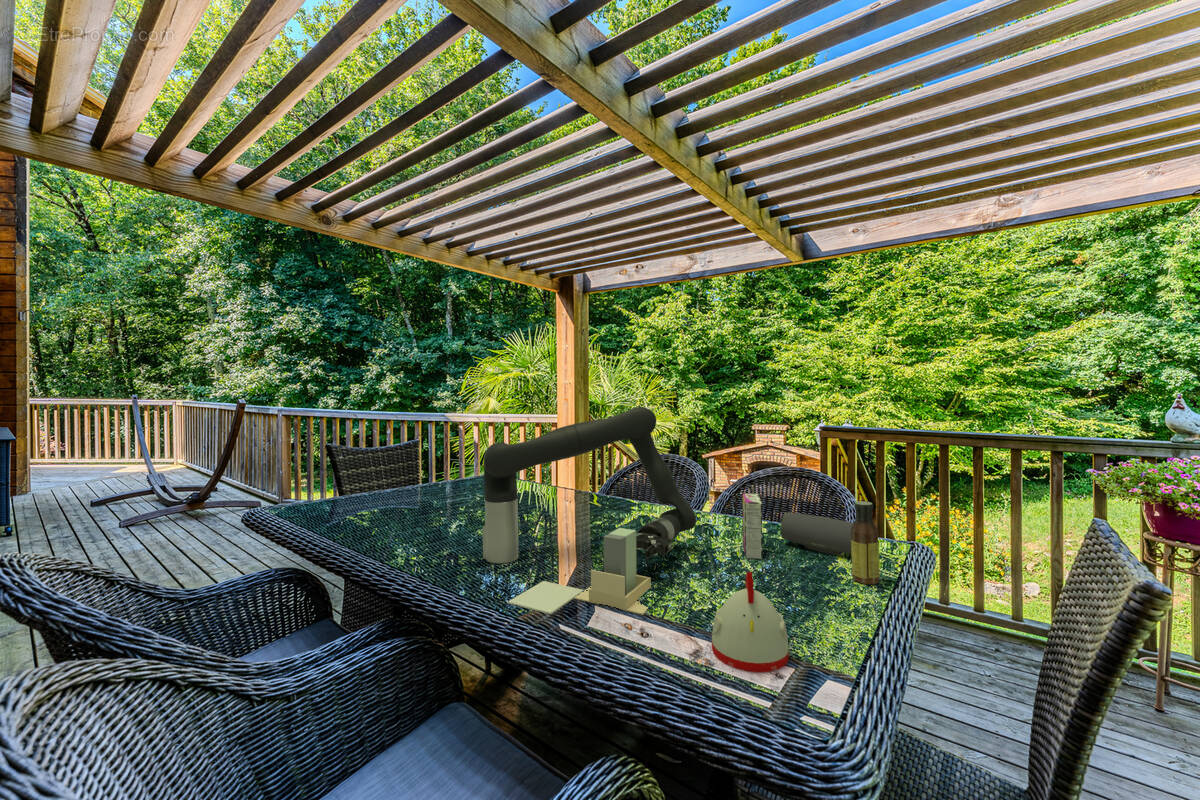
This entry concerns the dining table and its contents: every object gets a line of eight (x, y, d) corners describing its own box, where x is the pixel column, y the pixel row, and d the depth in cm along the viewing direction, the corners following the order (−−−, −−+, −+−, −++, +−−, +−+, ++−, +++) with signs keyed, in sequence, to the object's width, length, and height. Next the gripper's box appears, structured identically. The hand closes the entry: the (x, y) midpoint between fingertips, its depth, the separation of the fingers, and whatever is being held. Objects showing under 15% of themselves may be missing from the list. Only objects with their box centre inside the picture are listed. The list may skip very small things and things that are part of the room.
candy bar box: (741, 546, 160) (741, 493, 160) (759, 547, 159) (759, 493, 159) (744, 559, 149) (744, 501, 149) (762, 560, 148) (763, 502, 148)
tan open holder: (574, 598, 124) (573, 567, 123) (608, 574, 138) (608, 546, 138) (642, 614, 115) (642, 580, 115) (671, 587, 130) (671, 557, 129)
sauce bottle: (877, 577, 134) (878, 500, 134) (881, 587, 129) (882, 506, 128) (849, 574, 137) (849, 499, 136) (852, 583, 131) (852, 504, 130)
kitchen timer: (711, 668, 94) (711, 585, 93) (711, 631, 107) (711, 558, 107) (794, 676, 91) (794, 590, 90) (783, 637, 105) (783, 563, 104)
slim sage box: (604, 600, 123) (603, 536, 122) (620, 588, 130) (619, 527, 129) (621, 604, 121) (620, 539, 120) (636, 591, 127) (636, 530, 127)
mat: (507, 603, 122) (507, 601, 122) (543, 582, 134) (543, 580, 134) (550, 614, 116) (550, 612, 116) (583, 591, 128) (583, 589, 128)
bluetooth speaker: (869, 555, 152) (870, 520, 151) (859, 563, 145) (859, 527, 144) (792, 539, 167) (792, 508, 167) (779, 546, 160) (779, 513, 160)
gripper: (632, 517, 147) (604, 532, 133) (681, 524, 140) (656, 540, 126) (632, 544, 147) (604, 562, 133) (681, 552, 140) (657, 571, 126)
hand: (630, 551), depth 129 cm, fingers open, 8 cm apart
